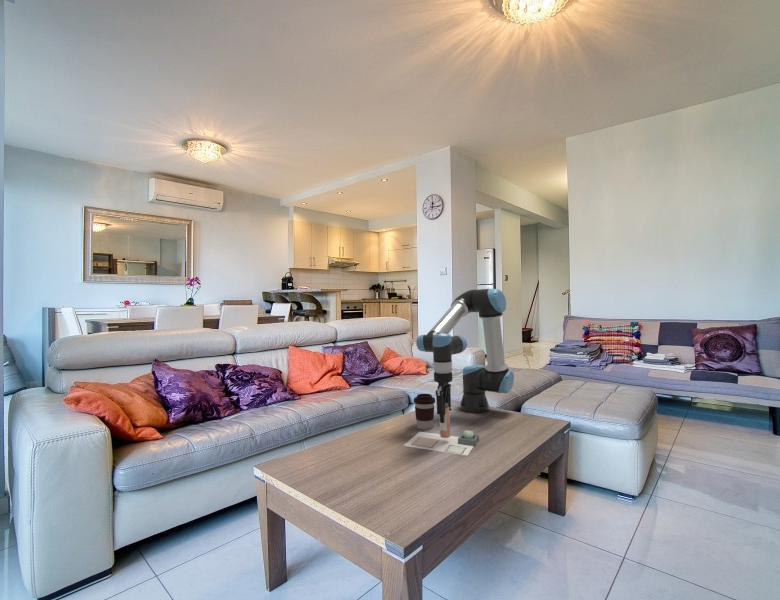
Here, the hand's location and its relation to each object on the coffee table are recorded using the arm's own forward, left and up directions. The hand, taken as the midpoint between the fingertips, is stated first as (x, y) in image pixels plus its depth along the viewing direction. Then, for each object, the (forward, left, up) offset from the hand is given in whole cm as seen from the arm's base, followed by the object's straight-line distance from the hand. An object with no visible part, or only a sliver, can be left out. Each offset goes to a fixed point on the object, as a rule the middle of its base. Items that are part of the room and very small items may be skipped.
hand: (444, 428), depth 155 cm
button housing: (-3, +9, -6) cm, 11 cm away
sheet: (+2, -1, -6) cm, 6 cm away
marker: (0, 0, -3) cm, 3 cm away
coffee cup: (-14, -14, -6) cm, 21 cm away
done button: (-3, +9, -6) cm, 11 cm away
